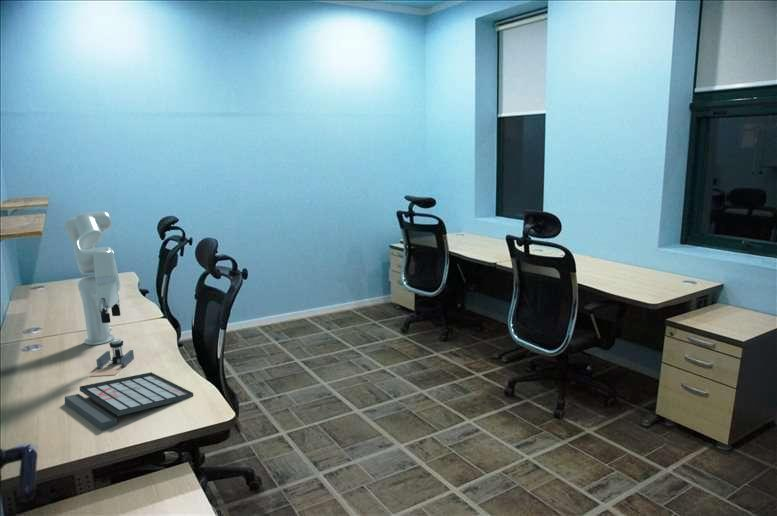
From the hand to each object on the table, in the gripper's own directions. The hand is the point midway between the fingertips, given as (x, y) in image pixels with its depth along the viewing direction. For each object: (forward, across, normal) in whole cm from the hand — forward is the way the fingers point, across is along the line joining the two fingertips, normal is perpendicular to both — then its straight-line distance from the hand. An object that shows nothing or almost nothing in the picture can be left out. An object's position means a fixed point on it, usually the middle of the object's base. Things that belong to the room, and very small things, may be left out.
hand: (111, 319), depth 225 cm
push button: (+20, 0, 0) cm, 20 cm away
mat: (+20, +10, 0) cm, 22 cm away
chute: (+20, +1, 0) cm, 20 cm away
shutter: (+21, +38, +20) cm, 47 cm away
